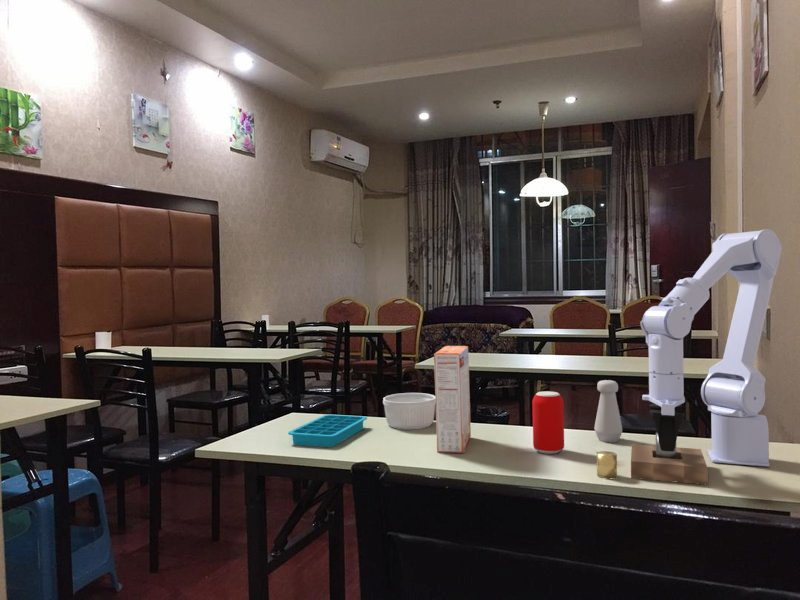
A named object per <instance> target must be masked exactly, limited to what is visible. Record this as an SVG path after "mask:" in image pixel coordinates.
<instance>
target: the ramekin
mask: <svg viewBox="0 0 800 600" xmlns="http://www.w3.org/2000/svg"><path fill="white" fill-rule="evenodd" d="M382 399H383V400H382V404H383V406H384V407H383V408H384V414H385V418H386V423H387V424H388V426H389V427H391V428H392V429H396V430H397V429H398V430H410V431H411V430H420V429H426V428H428V427H431V425H433V423H434V421H435V420H434V419H435V413H436V399H435V394H430V393H423V392H404V393H395V394H394V393H393V394H390V395H389V394H388V395H386V396H385V397H383V398H382Z"/></svg>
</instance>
